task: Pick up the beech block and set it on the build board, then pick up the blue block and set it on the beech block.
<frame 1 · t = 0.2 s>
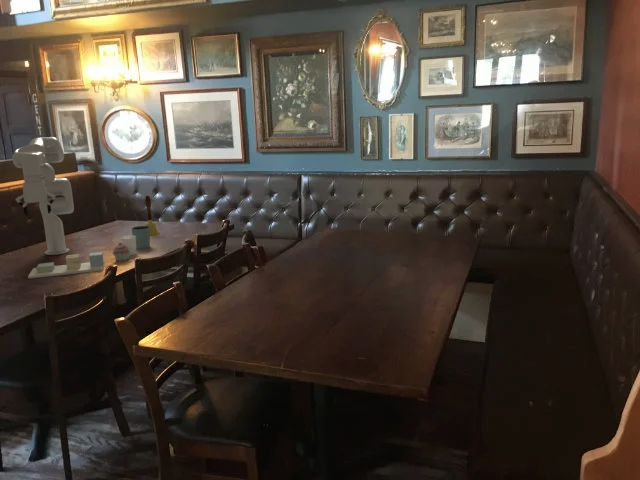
hand: (38, 214, 261), 30 cm above the table, tool pointing down, fingers open, 9 cm apart
blue block: (97, 265, 277), point 1 cm above the table, touching build board
beech block: (74, 267, 274), point 1 cm above the table, touching build board
teal plant pot 2: (142, 247, 317), on the table
white cup: (130, 254, 302), on the table
cupcake: (122, 260, 290), on the table
handbell: (151, 233, 353), on the table
build board: (68, 270, 273), on the table
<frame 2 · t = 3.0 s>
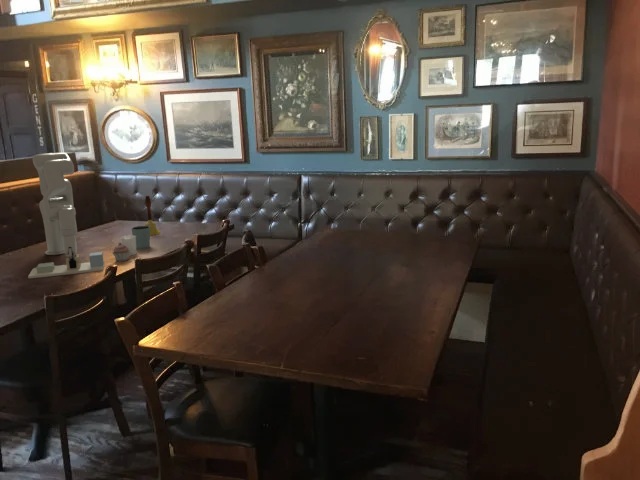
hand: (73, 266, 274), 2 cm above the table, tool pointing down, fingers closed on beech block, 6 cm apart
beech block: (74, 267, 274), point 1 cm above the table, touching build board, gripper
everything else where it was.
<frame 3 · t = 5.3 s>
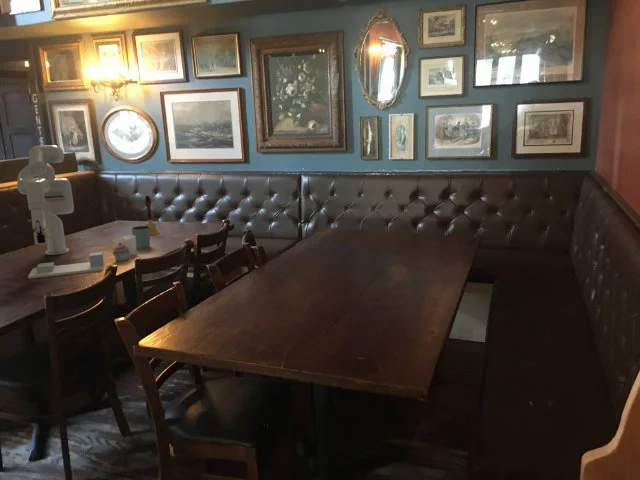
hand: (42, 241, 267), 16 cm above the table, tool pointing down, fingers closed on beech block, 6 cm apart
beech block: (42, 242, 267), point 16 cm above the table, touching gripper
everything else where it was.
when the fingers open (6 cm above the table, at t = 7.8 s): beech block drops 1 cm, resting on build board.
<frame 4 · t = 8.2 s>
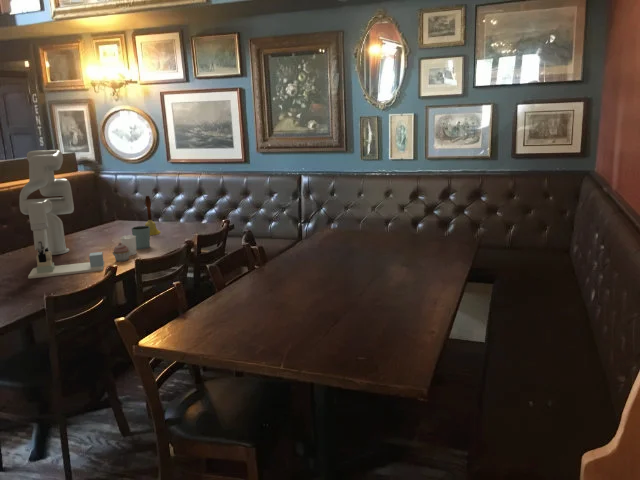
hand: (44, 259, 269), 7 cm above the table, tool pointing down, fingers open, 9 cm apart
beech block: (45, 264, 269), point 4 cm above the table, touching build board
everything else where it was.
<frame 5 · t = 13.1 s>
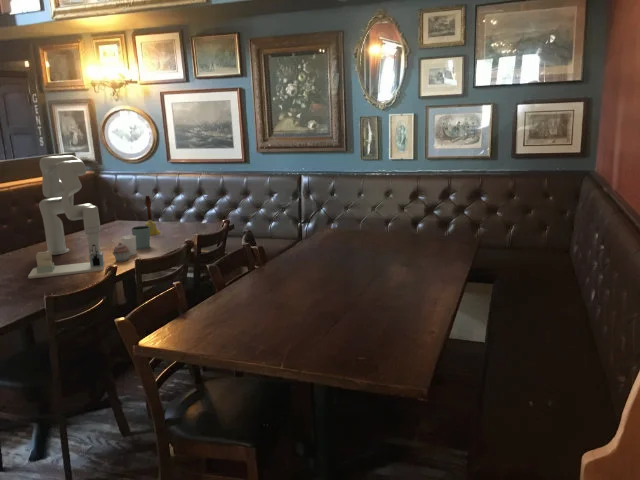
hand: (97, 263, 277), 2 cm above the table, tool pointing down, fingers closed on blue block, 6 cm apart
blue block: (97, 265, 277), point 1 cm above the table, touching build board, gripper
everything else where it was.
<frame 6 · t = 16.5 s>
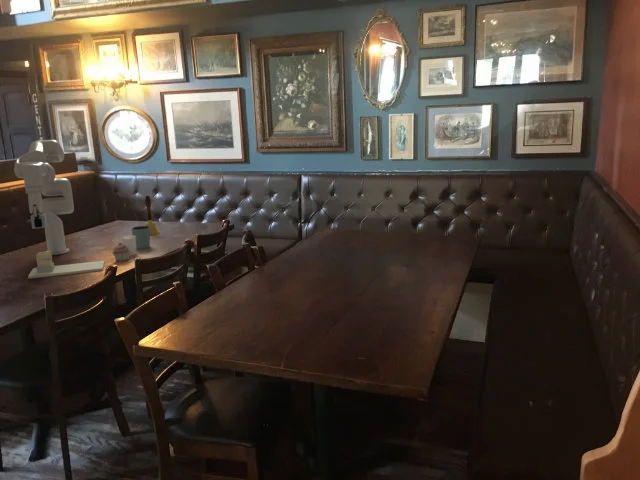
hand: (39, 225, 265), 24 cm above the table, tool pointing down, fingers closed on blue block, 6 cm apart
blue block: (40, 226, 265), point 24 cm above the table, touching gripper
everything else where it was.
when the fingers open (12 cm above the table, at t = 20.0 s): blue block drops 1 cm, resting on beech block.
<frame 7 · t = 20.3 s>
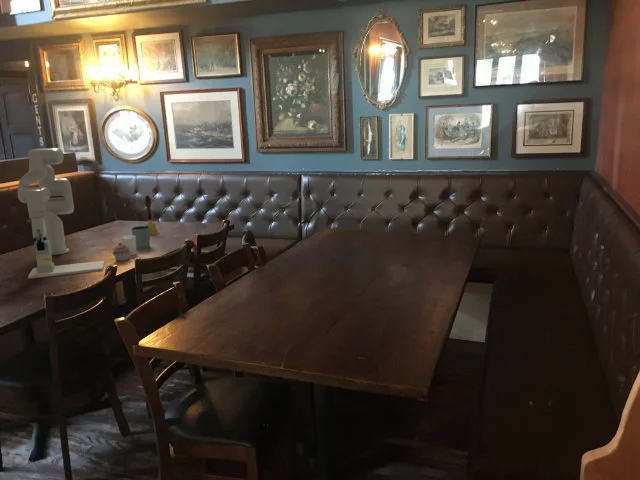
hand: (42, 248, 267), 13 cm above the table, tool pointing down, fingers open, 9 cm apart
blue block: (43, 253, 268), point 10 cm above the table, touching beech block
beech block: (45, 264, 269), point 4 cm above the table, touching blue block, build board
everything else where it was.
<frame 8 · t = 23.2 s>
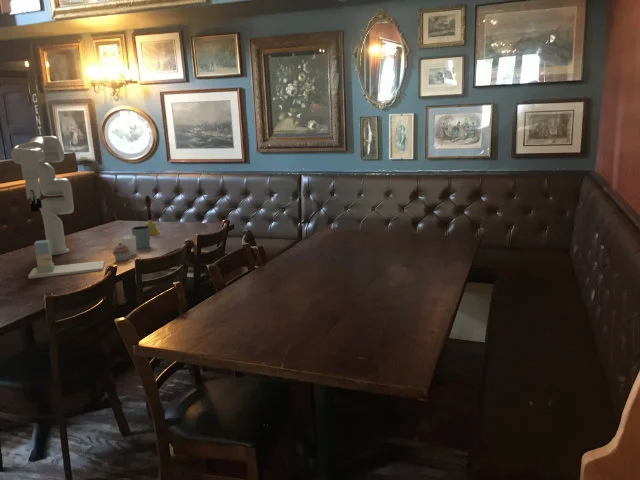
hand: (36, 209, 263), 32 cm above the table, tool pointing down, fingers open, 9 cm apart
nothing on the table moved.
at the end: beech block 0.0 cm from the target spot on the build board, point 4.2 cm above the build board's base; blue block 0.0 cm from the beech block (horizontally); blue block point 10.2 cm above the table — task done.
